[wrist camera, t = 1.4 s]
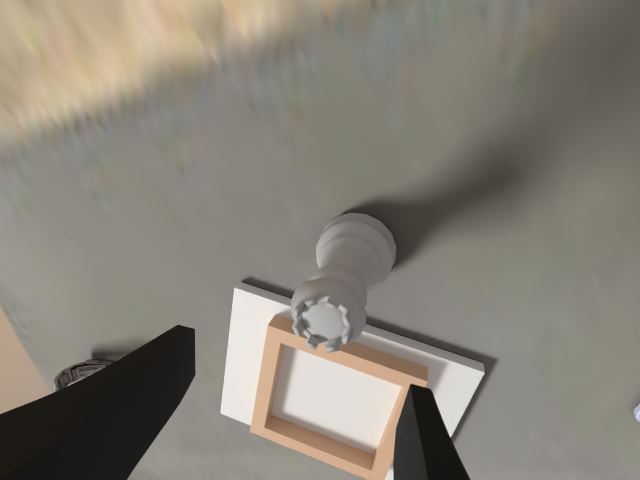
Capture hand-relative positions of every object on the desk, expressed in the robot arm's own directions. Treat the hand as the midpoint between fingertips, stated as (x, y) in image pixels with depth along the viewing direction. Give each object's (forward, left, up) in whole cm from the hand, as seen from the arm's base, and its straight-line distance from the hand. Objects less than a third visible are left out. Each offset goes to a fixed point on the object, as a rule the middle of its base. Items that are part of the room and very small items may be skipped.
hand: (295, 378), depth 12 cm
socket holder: (-1, +11, -11) cm, 15 cm away
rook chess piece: (0, 0, -11) cm, 11 cm away
